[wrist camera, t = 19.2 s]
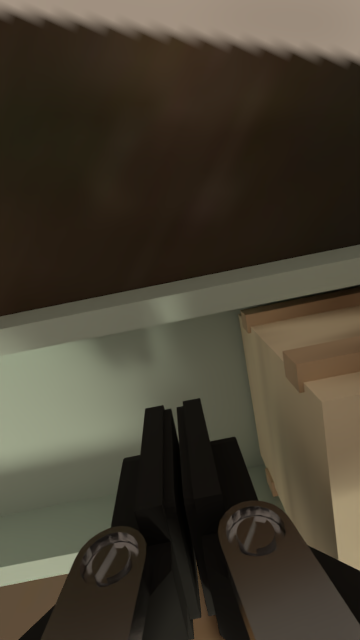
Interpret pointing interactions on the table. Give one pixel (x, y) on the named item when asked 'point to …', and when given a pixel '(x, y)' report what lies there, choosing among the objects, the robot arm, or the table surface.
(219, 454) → the robot arm
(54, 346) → the bay
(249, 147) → the table surface
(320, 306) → the crate
